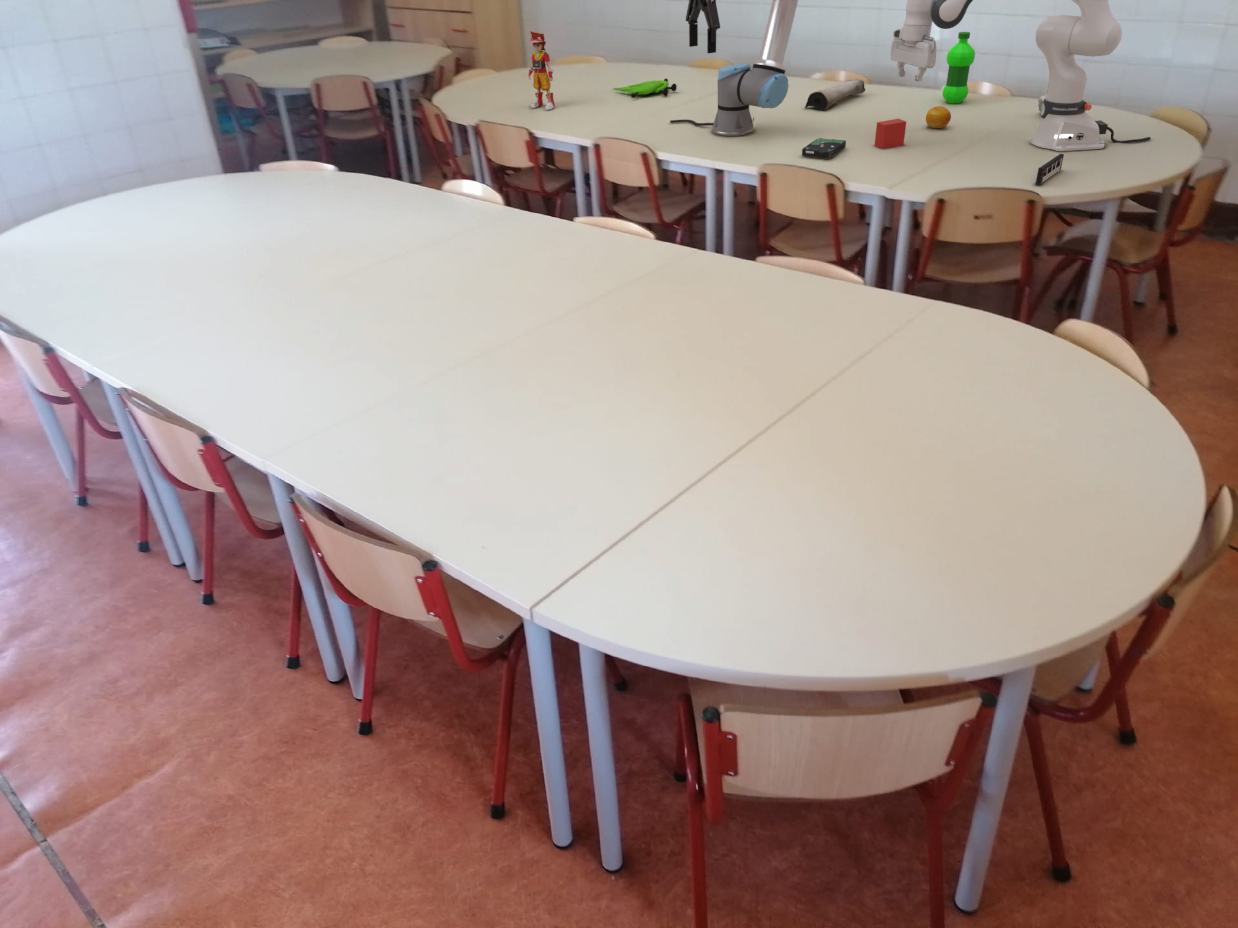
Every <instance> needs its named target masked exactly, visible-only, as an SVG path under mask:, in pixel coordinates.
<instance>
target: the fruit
mask: <svg viewBox="0 0 1238 928" xmlns="http://www.w3.org/2000/svg"><path fill="white" fill-rule="evenodd" d="M951 119H952V114H951V111H950V110H949V109H948V108H947V107H945V106H941V105H938V106H933V107H931V108H930V109H928V111H927V112H926V115H925V123H926V125H927V126H928V127H929V128H932V129H943V128H945V127H946V126H947V125H948V124H949V123H950V122H951Z"/></svg>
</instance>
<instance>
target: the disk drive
mask: <svg viewBox="0 0 1238 928" xmlns="http://www.w3.org/2000/svg"><path fill="white" fill-rule="evenodd" d="M846 145H847V140H843V139H833V138H829V139H828V138H822V137H819V138H816V139H814V140H813V141H811V142H810V143H809V144H807V145H805V146H804V147H803V148H802V149H801V156H802V157H803V156H804V157H808V158H815V159H825V160H830V159H833V157H835V156H836V155H837V154H839V153H840V152H842V151H843V150H844V149H846V147H847V146H846Z"/></svg>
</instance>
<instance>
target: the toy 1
mask: <svg viewBox="0 0 1238 928" xmlns="http://www.w3.org/2000/svg"><path fill="white" fill-rule="evenodd" d="M529 33H530V35H531V36H528V37H527V38H528V39H529V40H528V41H527V43H529V44H530V43H531V44H532V48H533V50H534V51H533V52H532V55H531V58H530V59H531V63H530V66H528V74H527V75H528V76H527V77H528V79H529V80H531V75H532V74H533V84H532V85H533V86H532V87H533V88H534V89H535V90H536V92H534V95H535V97H536V100H535V101H533V102H531V105H530V108H531V109H535V108H538V107H542V106H544V101H543V100H544V99H543V95H544V92H546V94H545V97H546V99H547V103H546V104H545V106H544V110H546V111H549V110H553V109H554V107H555V106H556V105H555V99H554V92H551V91H550V90H551V86H552V84H551V82H552V81H553V80H554V77H553V73H554V71H555V70H554V69H552V68H551V63H550V61H551V59H550V58H551V57H550V54H549V53H548V52H547V50H546V48H545V46H546V44H547V41H545V35H544V33H543V32H542V33H539V32H535V31H529Z"/></svg>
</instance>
